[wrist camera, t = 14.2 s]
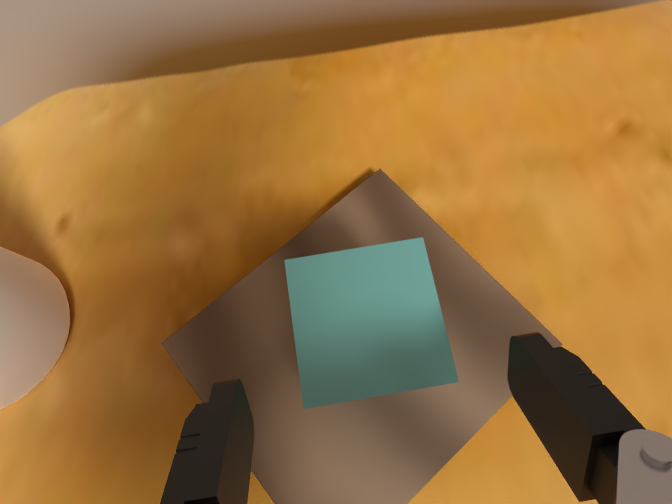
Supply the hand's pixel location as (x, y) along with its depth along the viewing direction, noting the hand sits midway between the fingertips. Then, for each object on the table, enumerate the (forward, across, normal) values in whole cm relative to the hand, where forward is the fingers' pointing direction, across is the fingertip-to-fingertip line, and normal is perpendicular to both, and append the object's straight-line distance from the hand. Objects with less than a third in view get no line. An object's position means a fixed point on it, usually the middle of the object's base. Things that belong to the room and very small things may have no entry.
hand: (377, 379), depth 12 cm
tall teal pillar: (+8, 0, +5) cm, 10 cm away
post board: (+9, 0, +6) cm, 11 cm away
